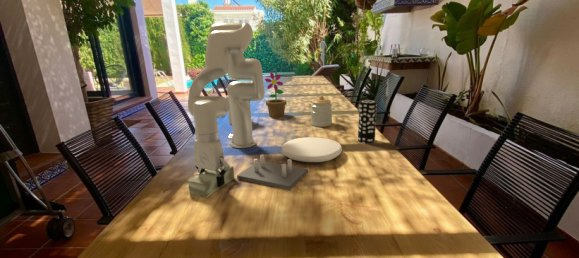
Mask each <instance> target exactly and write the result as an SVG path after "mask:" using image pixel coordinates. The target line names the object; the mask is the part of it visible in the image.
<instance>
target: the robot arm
mask: <svg viewBox="0 0 579 258" xmlns="http://www.w3.org/2000/svg"><path fill="white" fill-rule="evenodd" d="M253 36H254V33H253V29H252V26H251V25H250V23H248V22H222V23H221V22H220V23H219V22H218V23H214V24H212V25H211V26H210V28H209V34H208V36H207V41H206V51H205V59H204V60H205V61H204V67H203V69H202V70H201V71H200V72H199V73H198V74H197V75H196V77H195V78H194V79H193V81H192V82H191V84H190V87H189V90H188V98H187V109H188V112H189V114H190V115H191V116H192V117H193V121H194V128H195V129H194V130H195V131H194V136H195V140H194V145H193V156H194V158H193V159H192V160H191V162H192V163H193V165H194V166H195V168H196V169H197V172H198V173H199V174H200V173H202V172H204V171H206V170H212V171H216V173H217V175H218V176H217V186H218V187H221V186H222V185H224V183H225V182H224V174H225V173H226V172H227V170H228V169H229V168H230V166H231V165H230V164H228V162H227V161H226V160H225V155H224V148H223V143H222V142H221V140H220V134H219V126H218V119H219V118H223V117H225V116H226V115H228V111H229V108H230V106H231V117H232V124H231V126H232V134H231V133H229V134H228V136H227V139H228V140H231V142H230V146H231V147H233V148H235V149H247V148H251V147H253V146H255V145H256V144H257V141H256V139H254V138H253V124H252V121H253V120H252V111H251V106H250V107H249V105H248V104H247V103H246V102H245V101H250V102H258V101H262V100H263V99H264V97H265V82H264V76H263V75H264V74H263V67H262V64H261V62H260V60H259V59H257V58H252V57H251V58H246V57H245V55H244V52H246V50H247V49H248V47H249V46H250V45H251V43H252V40H253ZM226 75H227V76H228V78H229V79H230V80H234V81H231V82H230V83H228V85H227V88H226V90H227V91H226V92H227V95H228V97H229V101H230V105H229V102H228V100H227V99H226V96H220V95H204V96H203V95H201V94H202V92H203V90H204V88H205V87H206V86H207V85H209V84H210V83H212V82H214V81H216V80H218V79H221V78H222V77H224V76H226ZM222 166H223V167H224V168H223V167H222ZM219 169H220V171H221V172H220V171H219ZM199 174H198V175H199ZM224 186H225V185H224ZM222 187H223V186H222ZM222 187H221V188H222Z"/></svg>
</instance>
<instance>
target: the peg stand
mask: <svg viewBox="0 0 579 258" xmlns="http://www.w3.org/2000/svg"><path fill="white" fill-rule="evenodd" d="M259 157H260V158H259V159H260V160H259V159H258V158H253V164H252V165H250V166H249V167H247V168H246V169H245V170H243V171H241V172H240V173H237V175H236V177H237V180H241V181H245V182H250V183H255V184H261V185H264V186H269V187H272V188H273V187H274V188H279V189H283V190H288V191H290V190H291V189H293V187H294V186H296V185H297V184H298V183H299V182H300V181H301V180H302V179H303V178H304V177H305V176H306V175H307V174H308V173H309V169H308V168H307V167H301V166H295V165H293V161H292V160H293V159H290V158H289V159H287V164H286V163H277V162H271V161H266V160H265V154H260V156H259Z"/></svg>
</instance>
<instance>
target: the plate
mask: <svg viewBox="0 0 579 258" xmlns="http://www.w3.org/2000/svg"><path fill="white" fill-rule="evenodd" d="M342 151H343V148H342V145H341V144H340V143H339V142H337V141H335V140H332V139H328V138H324V137H318V136H317V137H299V138H294V139H290V140H288V141H286V142H285V143H283V144H282V146H281V153H282V155H283V156H285V157H286V158H289V159H291V160H295V161H298V162H304V163H322V162H329V161H331V160H333V159H335V158H337V157H338V156H340V154H342Z"/></svg>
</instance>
